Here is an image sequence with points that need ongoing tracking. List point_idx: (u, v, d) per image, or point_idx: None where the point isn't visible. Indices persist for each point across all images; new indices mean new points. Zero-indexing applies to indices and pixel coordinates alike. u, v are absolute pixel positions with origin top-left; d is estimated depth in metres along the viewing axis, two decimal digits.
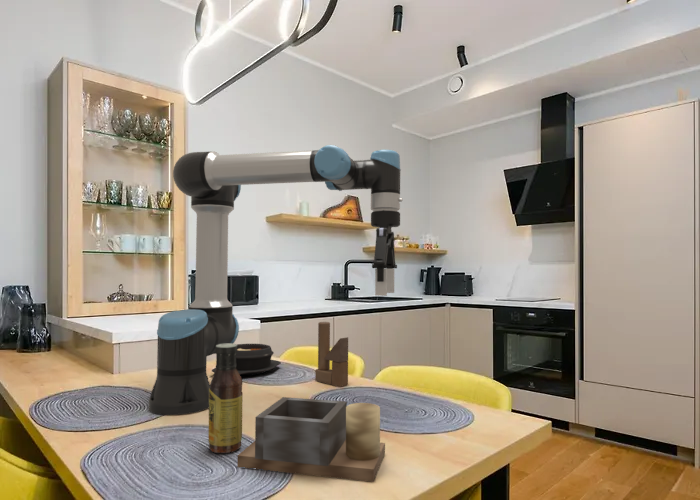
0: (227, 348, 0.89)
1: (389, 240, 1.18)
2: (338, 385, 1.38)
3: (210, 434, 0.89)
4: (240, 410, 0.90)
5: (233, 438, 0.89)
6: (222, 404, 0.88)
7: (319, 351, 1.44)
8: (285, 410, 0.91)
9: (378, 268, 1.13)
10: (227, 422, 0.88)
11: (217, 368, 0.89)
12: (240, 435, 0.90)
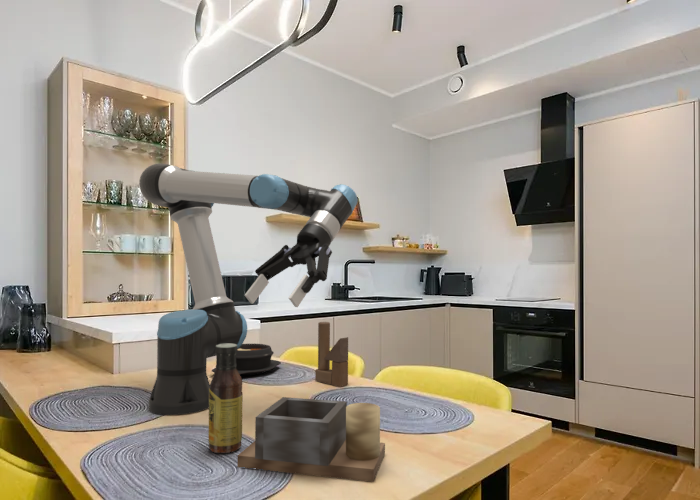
0: (227, 348, 0.89)
1: (315, 261, 1.07)
2: (338, 385, 1.38)
3: (210, 434, 0.89)
4: (240, 410, 0.90)
5: (233, 438, 0.89)
6: (222, 404, 0.88)
7: (319, 351, 1.44)
8: (285, 410, 0.91)
9: (313, 278, 0.99)
10: (227, 422, 0.88)
11: (217, 368, 0.89)
12: (240, 435, 0.90)
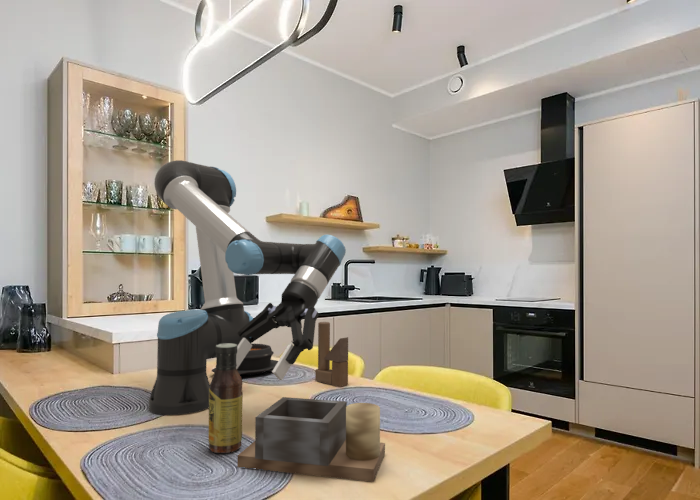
0: (227, 348, 0.89)
1: None
2: (338, 385, 1.38)
3: (210, 434, 0.89)
4: (240, 410, 0.90)
5: (233, 438, 0.89)
6: (222, 404, 0.88)
7: (319, 351, 1.44)
8: (285, 410, 0.91)
9: (299, 347, 0.92)
10: (227, 422, 0.88)
11: (217, 368, 0.89)
12: (240, 435, 0.90)
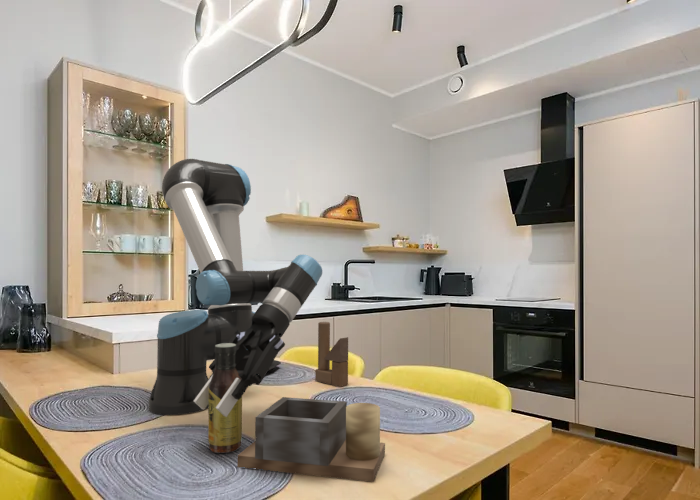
0: (226, 348, 0.89)
1: None
2: (338, 385, 1.38)
3: (210, 434, 0.89)
4: (240, 410, 0.90)
5: (233, 438, 0.89)
6: None
7: (319, 351, 1.44)
8: (285, 410, 0.91)
9: (246, 382, 0.89)
10: (227, 422, 0.88)
11: (216, 368, 0.90)
12: (240, 435, 0.90)
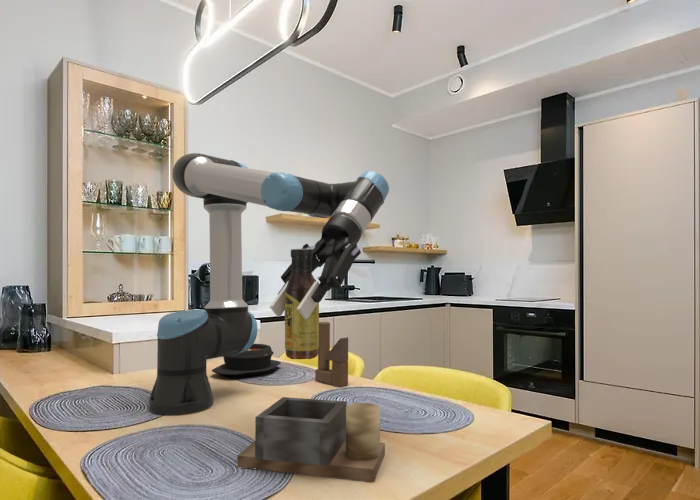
0: (304, 250, 0.85)
1: None
2: (338, 385, 1.38)
3: (288, 340, 0.85)
4: (317, 316, 0.86)
5: (312, 344, 0.85)
6: None
7: (319, 351, 1.44)
8: (285, 410, 0.91)
9: (325, 285, 0.85)
10: (306, 326, 0.84)
11: (293, 272, 0.86)
12: (318, 342, 0.86)
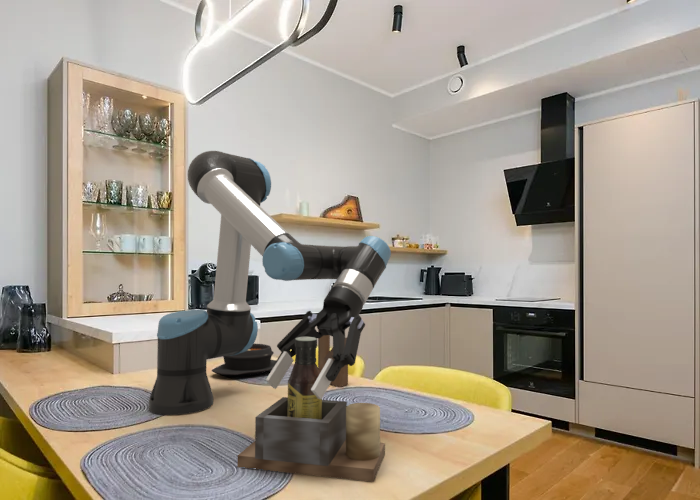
0: (308, 341, 0.84)
1: (344, 333, 0.91)
2: (338, 385, 1.38)
3: None
4: (320, 407, 0.86)
5: None
6: (304, 401, 0.83)
7: (319, 351, 1.44)
8: (285, 410, 0.91)
9: (340, 363, 0.83)
10: None
11: (297, 362, 0.85)
12: None
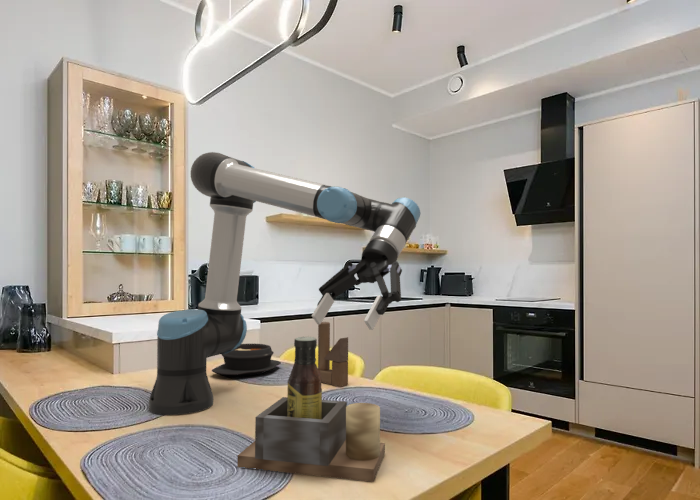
0: (308, 341, 0.84)
1: (383, 279, 1.02)
2: (338, 385, 1.38)
3: None
4: (320, 407, 0.86)
5: None
6: (304, 401, 0.83)
7: (319, 351, 1.44)
8: (285, 410, 0.91)
9: (388, 299, 0.94)
10: None
11: (297, 362, 0.85)
12: None
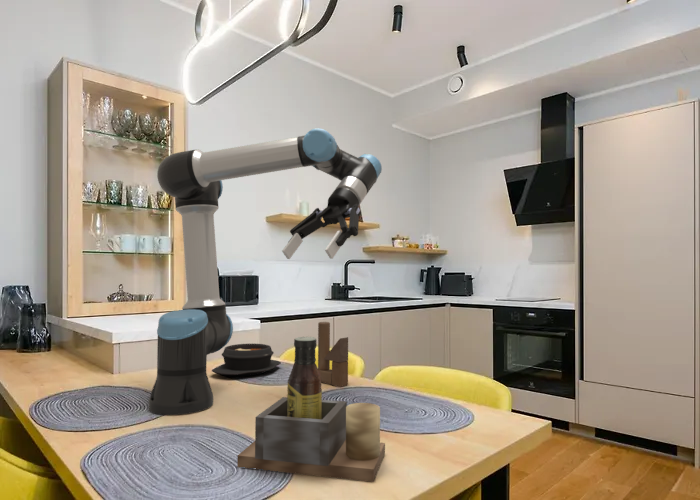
0: (308, 341, 0.84)
1: (345, 221, 1.17)
2: (338, 385, 1.38)
3: None
4: (320, 407, 0.86)
5: None
6: (303, 401, 0.83)
7: (319, 351, 1.44)
8: (285, 410, 0.91)
9: (346, 233, 1.09)
10: None
11: (297, 362, 0.85)
12: None
